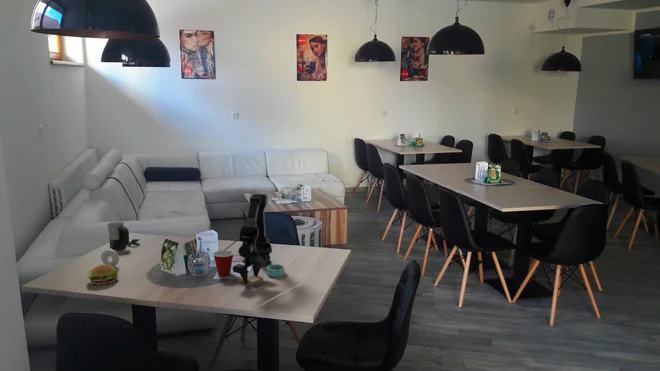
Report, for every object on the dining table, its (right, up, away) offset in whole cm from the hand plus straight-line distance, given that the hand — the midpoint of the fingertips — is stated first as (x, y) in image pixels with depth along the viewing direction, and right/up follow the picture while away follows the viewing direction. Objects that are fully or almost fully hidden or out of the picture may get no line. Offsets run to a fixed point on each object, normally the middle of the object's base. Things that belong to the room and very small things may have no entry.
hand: (251, 281), depth 240 cm
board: (0, -1, 0) cm, 1 cm away
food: (-74, -1, +4) cm, 74 cm away
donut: (-78, +3, +23) cm, 82 cm away
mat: (0, -1, 0) cm, 1 cm away
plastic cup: (-15, +1, +11) cm, 19 cm away
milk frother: (-85, +10, +57) cm, 103 cm away
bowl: (+11, +1, +11) cm, 15 cm away
